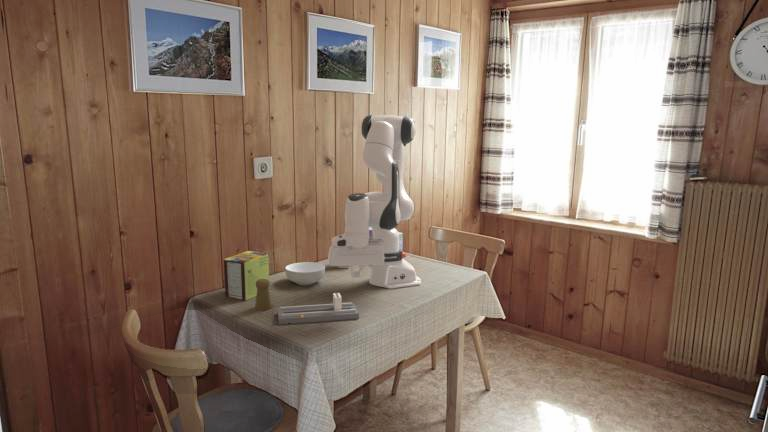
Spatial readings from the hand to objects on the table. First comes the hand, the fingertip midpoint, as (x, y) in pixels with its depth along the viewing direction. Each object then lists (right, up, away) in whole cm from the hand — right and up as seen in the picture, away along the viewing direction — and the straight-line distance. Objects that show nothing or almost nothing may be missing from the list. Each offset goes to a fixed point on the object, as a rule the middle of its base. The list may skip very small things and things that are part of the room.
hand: (355, 277), depth 194 cm
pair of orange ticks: (-20, -12, -2) cm, 23 cm away
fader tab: (-7, -11, +1) cm, 13 cm away
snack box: (+9, 0, +76) cm, 76 cm away
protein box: (-45, -9, +23) cm, 51 cm away
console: (-14, -14, 0) cm, 20 cm away
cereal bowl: (-24, -7, +38) cm, 45 cm away
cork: (-35, -13, +7) cm, 38 cm away
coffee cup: (-8, -2, +63) cm, 63 cm away
